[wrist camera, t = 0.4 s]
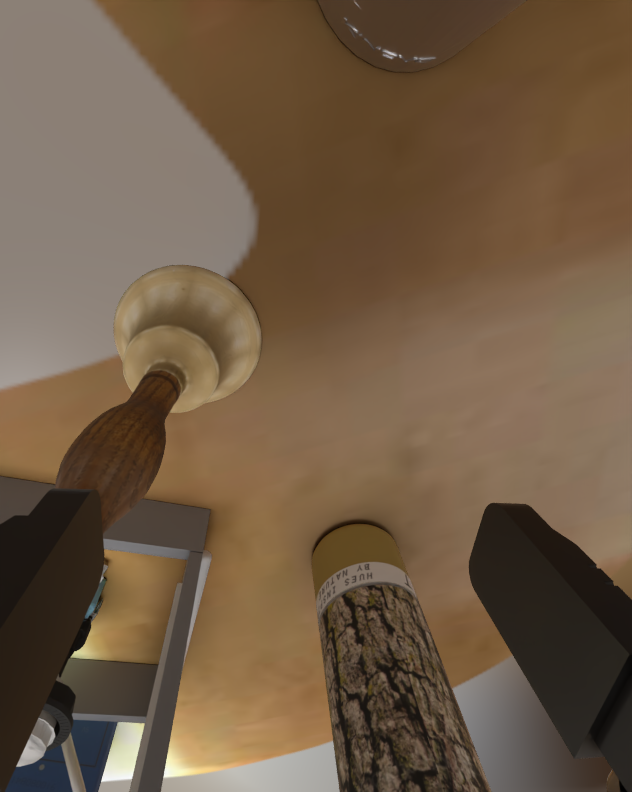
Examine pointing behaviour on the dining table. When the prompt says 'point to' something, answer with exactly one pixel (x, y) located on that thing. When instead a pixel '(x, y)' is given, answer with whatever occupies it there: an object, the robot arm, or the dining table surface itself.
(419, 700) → the brown bark-textured cylinder
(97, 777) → the electronic device
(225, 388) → the hand bell
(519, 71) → the dining table surface
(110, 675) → the case
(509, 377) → the dining table surface
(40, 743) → the push button
